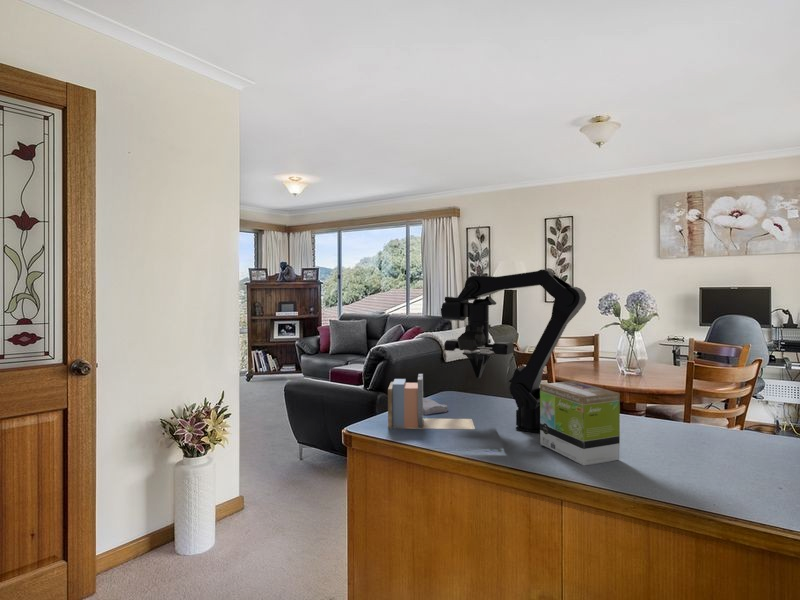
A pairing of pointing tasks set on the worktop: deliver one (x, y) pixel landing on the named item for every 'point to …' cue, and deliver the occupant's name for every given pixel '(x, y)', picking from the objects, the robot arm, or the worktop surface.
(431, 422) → the wooden book rack
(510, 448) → the worktop surface
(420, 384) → the grey flat rectangular panel
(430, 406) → the stone block
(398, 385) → the book
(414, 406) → the book
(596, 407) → the tea box
